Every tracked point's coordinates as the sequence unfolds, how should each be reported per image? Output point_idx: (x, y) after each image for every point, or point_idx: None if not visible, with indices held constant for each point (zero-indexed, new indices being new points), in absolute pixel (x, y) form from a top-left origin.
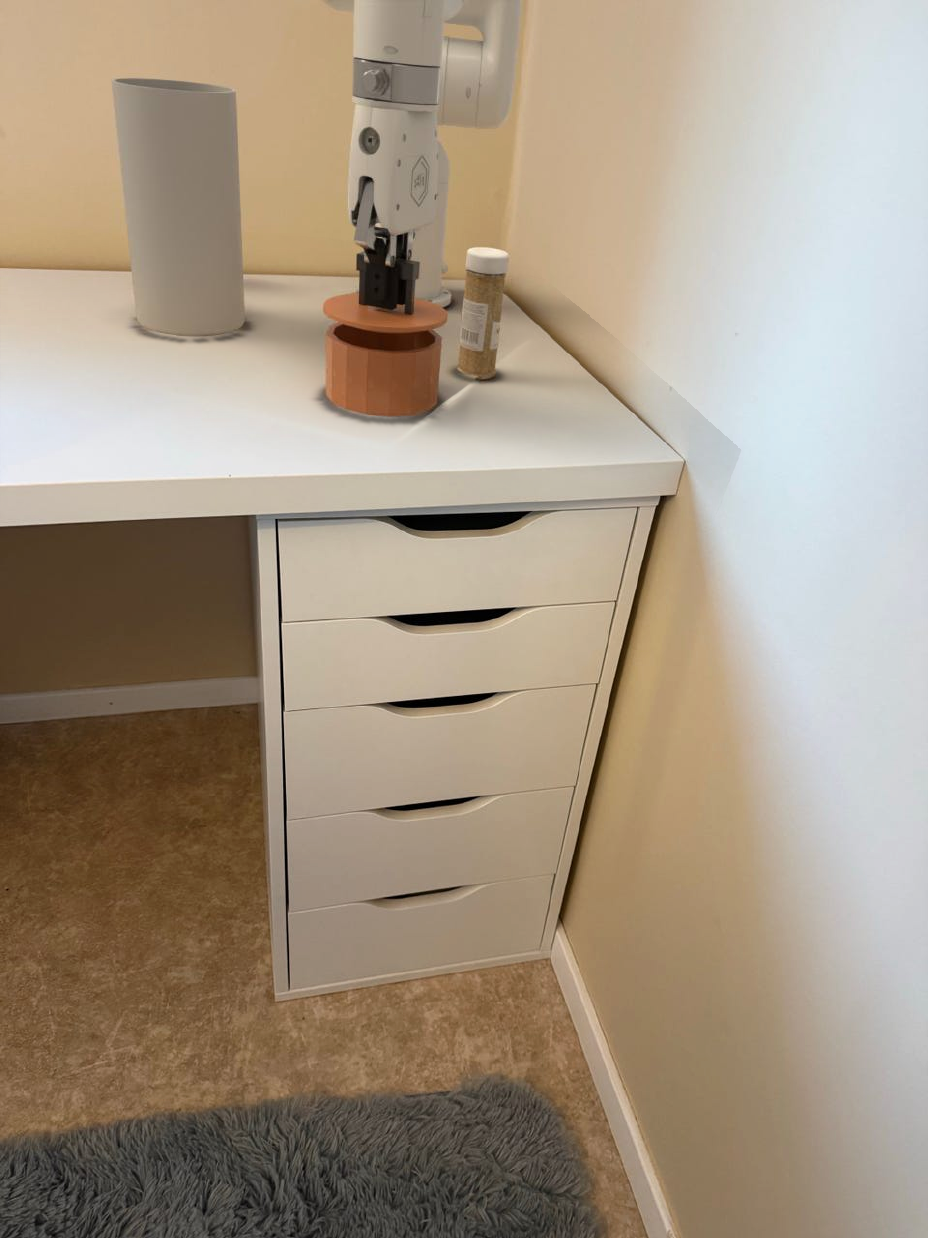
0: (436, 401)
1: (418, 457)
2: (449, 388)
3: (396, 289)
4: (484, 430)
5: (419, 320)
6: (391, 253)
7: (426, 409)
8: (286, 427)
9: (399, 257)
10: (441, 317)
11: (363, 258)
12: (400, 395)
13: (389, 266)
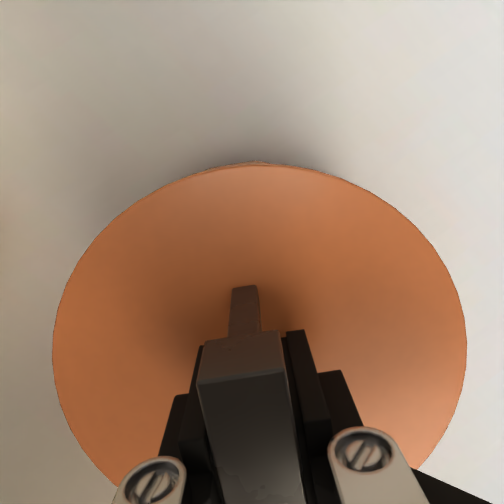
0: (210, 168)
1: (459, 43)
2: (80, 218)
3: (307, 360)
4: (234, 14)
5: (289, 225)
6: (400, 478)
7: (259, 161)
8: (483, 313)
9: (210, 491)
10: (190, 194)
11: None
12: None
13: (376, 434)
